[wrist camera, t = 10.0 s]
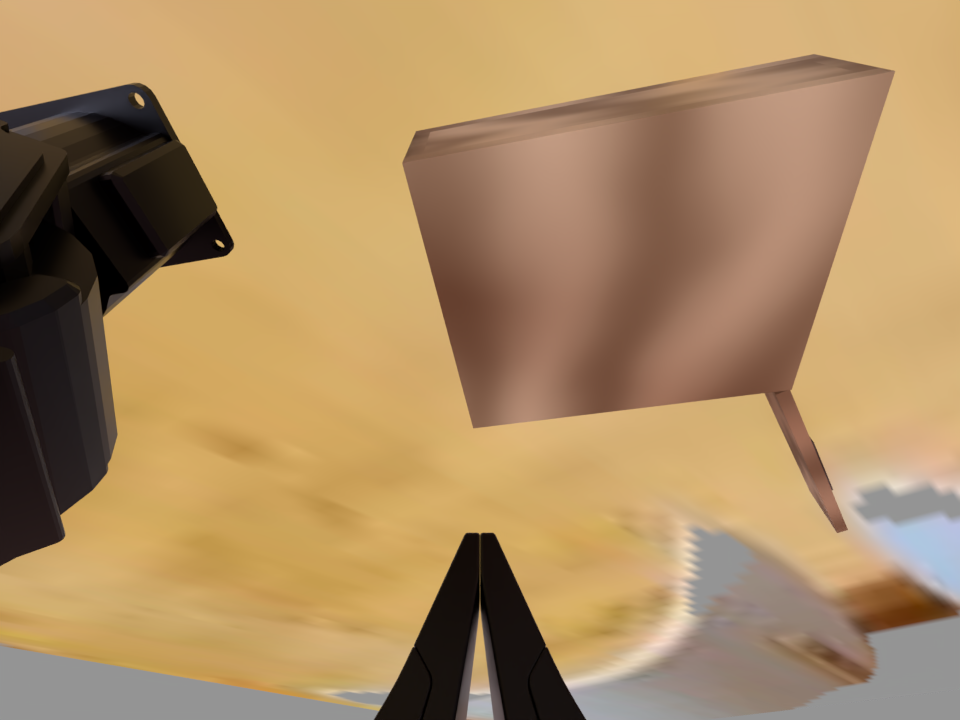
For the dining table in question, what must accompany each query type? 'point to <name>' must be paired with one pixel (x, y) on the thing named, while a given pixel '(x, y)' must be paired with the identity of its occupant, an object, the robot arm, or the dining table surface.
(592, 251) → the brown piece
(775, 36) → the dining table surface
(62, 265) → the robot arm
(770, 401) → the flap
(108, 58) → the dining table surface
